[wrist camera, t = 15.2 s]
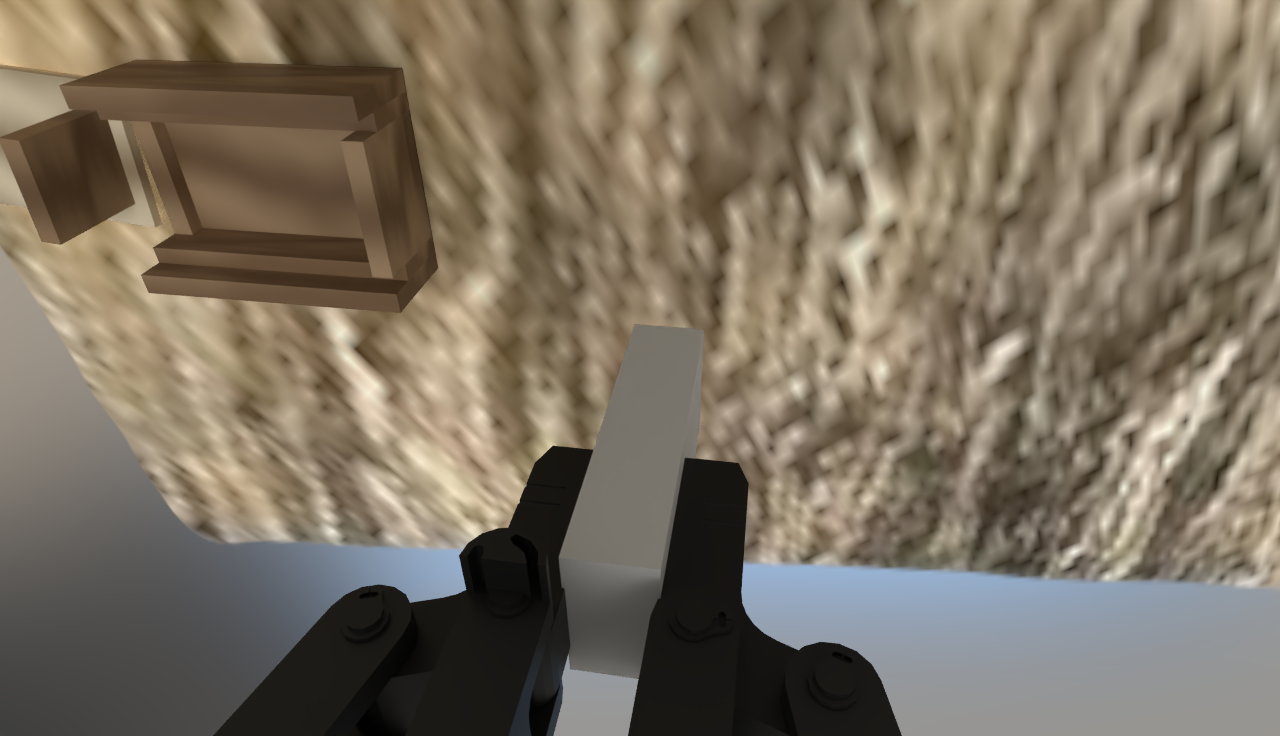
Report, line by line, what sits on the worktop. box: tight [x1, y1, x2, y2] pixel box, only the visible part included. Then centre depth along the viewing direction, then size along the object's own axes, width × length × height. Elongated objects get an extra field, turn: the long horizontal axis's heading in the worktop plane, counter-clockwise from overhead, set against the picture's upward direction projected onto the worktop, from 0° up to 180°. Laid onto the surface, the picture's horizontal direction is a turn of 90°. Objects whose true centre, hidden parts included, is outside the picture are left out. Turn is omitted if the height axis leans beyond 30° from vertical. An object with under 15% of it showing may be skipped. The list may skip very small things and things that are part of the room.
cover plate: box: [0, 65, 162, 245], centre depth 44 cm, size 9×13×7 cm
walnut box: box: [59, 60, 438, 313], centre depth 43 cm, size 12×16×6 cm
